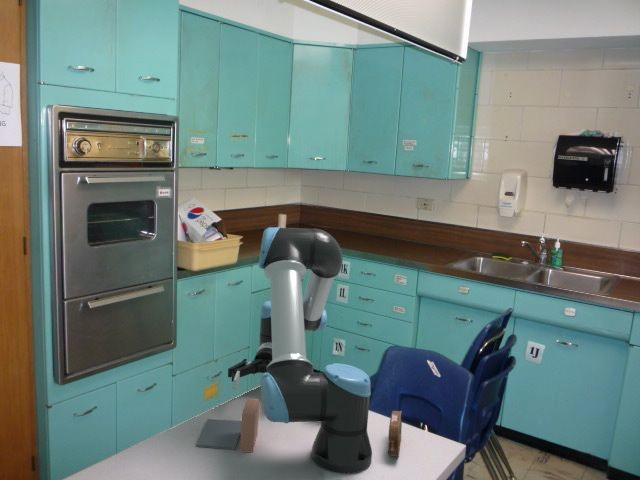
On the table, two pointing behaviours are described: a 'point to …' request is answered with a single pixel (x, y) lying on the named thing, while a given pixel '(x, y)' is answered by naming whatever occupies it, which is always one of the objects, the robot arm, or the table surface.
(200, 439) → the mat
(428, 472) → the table surface
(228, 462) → the table surface
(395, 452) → the tin
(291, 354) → the robot arm
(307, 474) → the table surface
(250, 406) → the block
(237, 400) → the table surface
